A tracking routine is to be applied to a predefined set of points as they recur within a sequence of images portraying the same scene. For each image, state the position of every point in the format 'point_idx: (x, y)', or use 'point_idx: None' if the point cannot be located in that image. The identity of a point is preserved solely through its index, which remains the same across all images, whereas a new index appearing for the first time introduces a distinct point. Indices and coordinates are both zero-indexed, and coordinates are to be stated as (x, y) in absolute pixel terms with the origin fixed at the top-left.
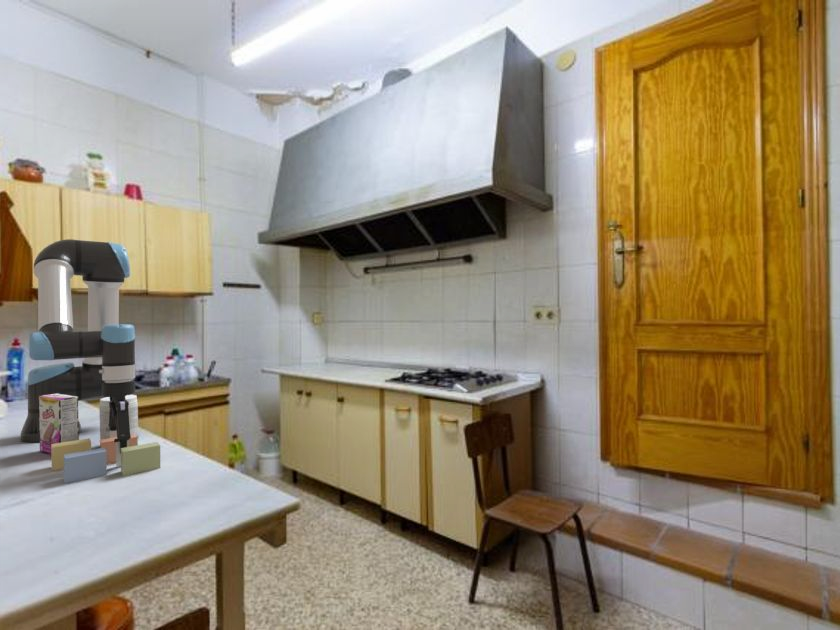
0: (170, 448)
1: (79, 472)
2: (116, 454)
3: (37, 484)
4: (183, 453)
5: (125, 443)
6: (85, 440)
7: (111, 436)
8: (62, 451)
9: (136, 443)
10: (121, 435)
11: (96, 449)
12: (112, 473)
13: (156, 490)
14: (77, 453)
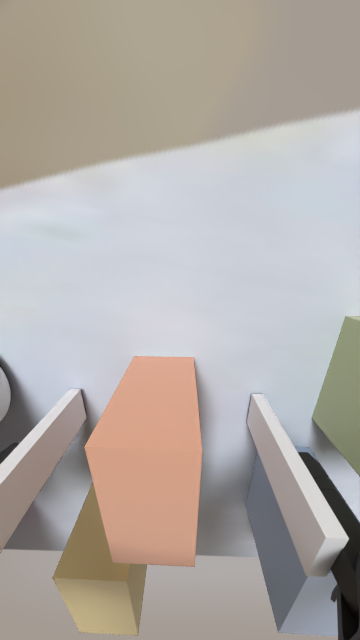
0: (125, 203)
1: None
2: (267, 469)
3: (242, 532)
4: (286, 160)
5: (356, 529)
6: (89, 588)
7: (25, 506)
8: (141, 584)
9: (197, 412)
10: (12, 469)
11: (311, 588)
12: (308, 435)
13: None
14: (308, 618)
